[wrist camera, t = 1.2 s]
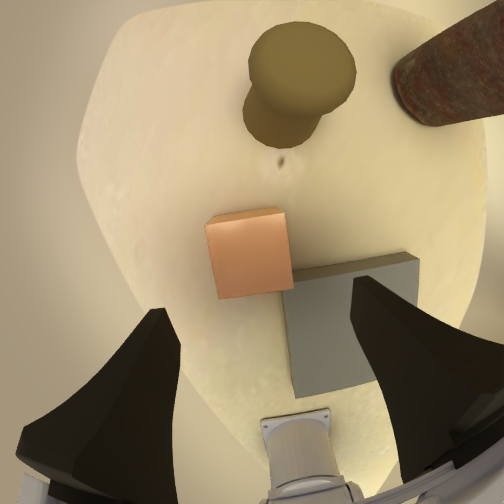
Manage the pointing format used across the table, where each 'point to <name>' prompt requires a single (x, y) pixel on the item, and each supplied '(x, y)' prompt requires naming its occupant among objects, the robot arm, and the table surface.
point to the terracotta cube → (250, 252)
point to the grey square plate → (336, 320)
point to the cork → (295, 82)
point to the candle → (457, 71)
